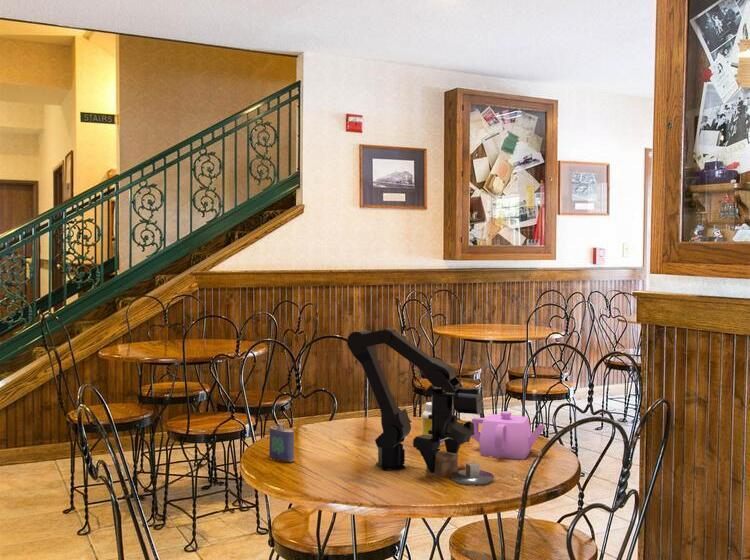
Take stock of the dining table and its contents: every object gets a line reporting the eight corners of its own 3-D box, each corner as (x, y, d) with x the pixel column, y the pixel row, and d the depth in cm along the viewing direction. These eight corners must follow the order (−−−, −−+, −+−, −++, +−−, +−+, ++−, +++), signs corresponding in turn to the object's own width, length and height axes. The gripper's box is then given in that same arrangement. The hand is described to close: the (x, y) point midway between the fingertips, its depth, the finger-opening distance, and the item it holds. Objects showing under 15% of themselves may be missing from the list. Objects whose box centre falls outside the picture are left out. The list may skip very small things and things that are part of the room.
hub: (463, 487, 183) (463, 472, 183) (444, 475, 194) (444, 460, 193) (501, 483, 187) (501, 467, 187) (481, 471, 197) (481, 456, 197)
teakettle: (466, 449, 220) (466, 408, 220) (513, 443, 227) (513, 404, 227) (498, 464, 205) (498, 420, 204) (547, 457, 212) (547, 415, 212)
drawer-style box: (444, 477, 192) (444, 458, 192) (426, 473, 196) (426, 454, 196) (457, 472, 196) (457, 453, 196) (439, 468, 200) (439, 449, 200)
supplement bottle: (444, 447, 222) (444, 405, 222) (422, 447, 222) (422, 405, 222) (442, 442, 229) (443, 401, 229) (421, 441, 229) (421, 401, 229)
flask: (295, 461, 207) (295, 424, 206) (288, 464, 204) (288, 426, 204) (273, 456, 213) (273, 419, 212) (266, 458, 210) (265, 421, 210)
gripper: (447, 421, 183) (447, 483, 184) (486, 409, 197) (486, 467, 198) (412, 415, 190) (411, 474, 191) (452, 404, 205) (452, 459, 205)
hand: (442, 469), depth 196 cm, fingers open, 9 cm apart
